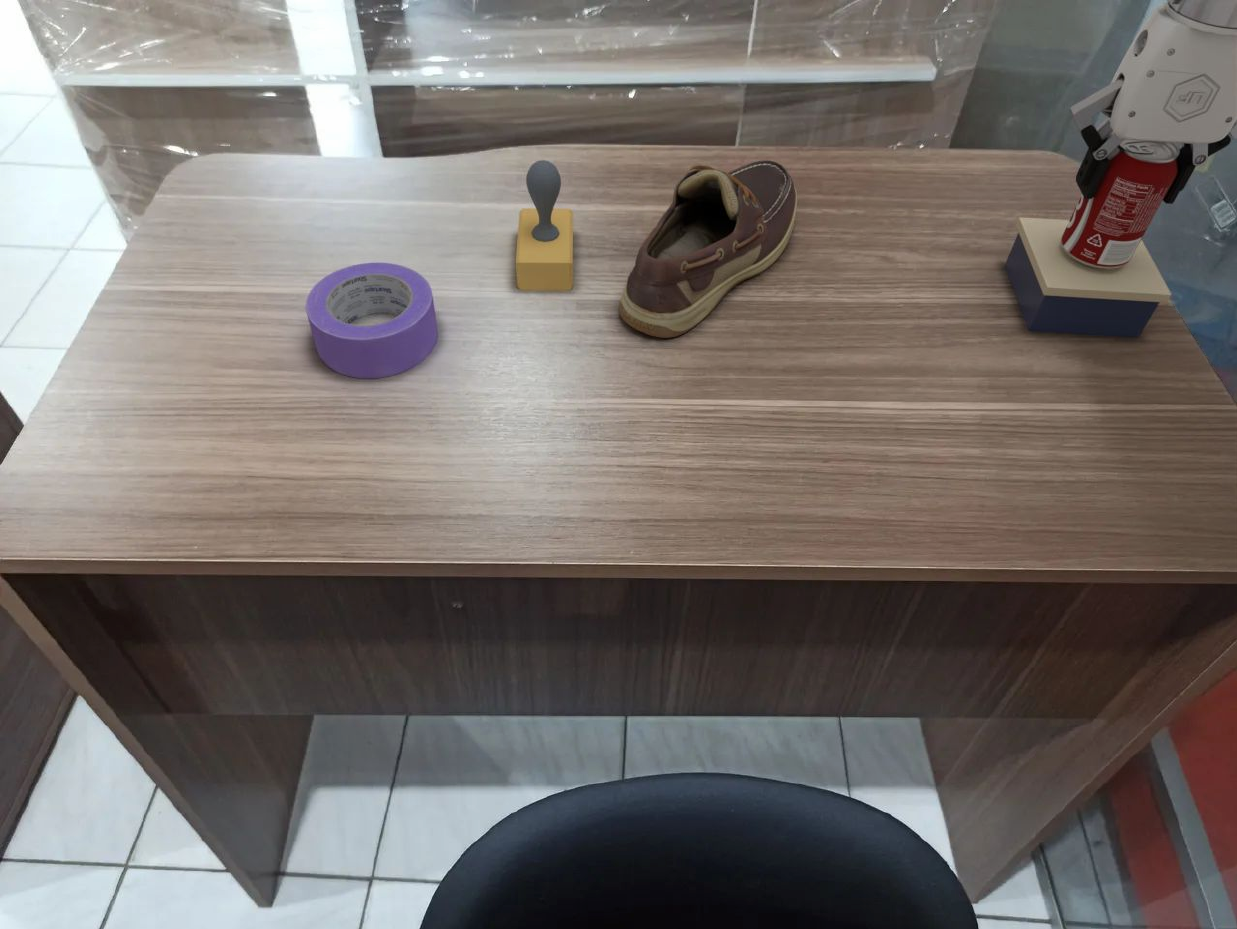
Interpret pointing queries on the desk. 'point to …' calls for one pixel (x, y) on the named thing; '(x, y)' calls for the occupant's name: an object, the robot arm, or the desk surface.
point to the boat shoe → (708, 245)
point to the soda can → (1121, 204)
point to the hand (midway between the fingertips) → (1124, 192)
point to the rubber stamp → (544, 234)
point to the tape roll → (377, 344)
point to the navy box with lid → (1080, 286)
